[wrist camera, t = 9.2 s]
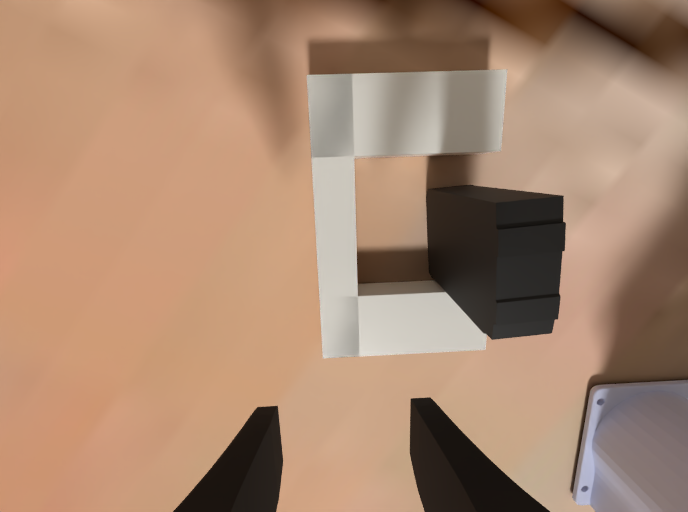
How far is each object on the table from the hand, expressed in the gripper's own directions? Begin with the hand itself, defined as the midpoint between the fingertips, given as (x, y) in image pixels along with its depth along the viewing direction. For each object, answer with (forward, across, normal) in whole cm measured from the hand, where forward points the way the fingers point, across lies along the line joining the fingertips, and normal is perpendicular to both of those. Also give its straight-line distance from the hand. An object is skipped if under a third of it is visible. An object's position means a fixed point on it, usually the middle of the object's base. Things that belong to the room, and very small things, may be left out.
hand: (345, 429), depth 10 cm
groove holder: (+9, -4, -5) cm, 11 cm away
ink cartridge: (+10, -6, -4) cm, 12 cm away
